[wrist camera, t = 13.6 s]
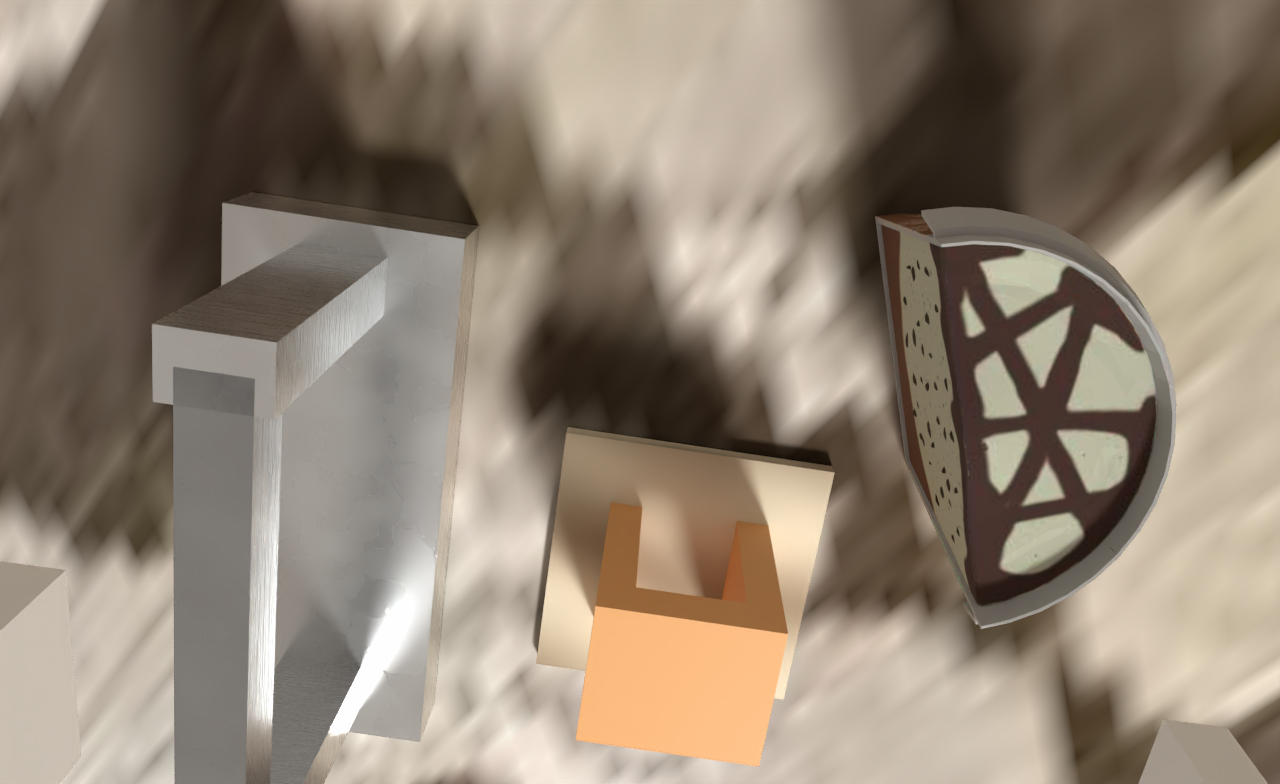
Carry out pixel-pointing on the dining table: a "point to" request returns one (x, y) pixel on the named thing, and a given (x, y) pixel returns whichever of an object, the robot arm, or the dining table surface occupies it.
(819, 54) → the dining table surface
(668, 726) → the orange notched sleeve
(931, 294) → the food container
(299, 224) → the rail stand
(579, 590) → the pad
